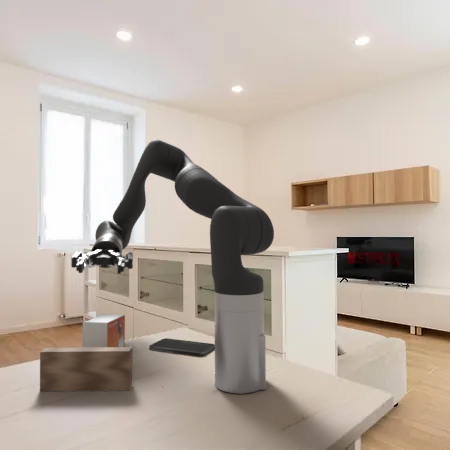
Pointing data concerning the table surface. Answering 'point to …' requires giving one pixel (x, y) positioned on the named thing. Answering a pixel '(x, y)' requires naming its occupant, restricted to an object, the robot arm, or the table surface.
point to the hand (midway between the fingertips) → (99, 269)
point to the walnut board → (86, 369)
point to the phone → (182, 347)
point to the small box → (104, 331)
